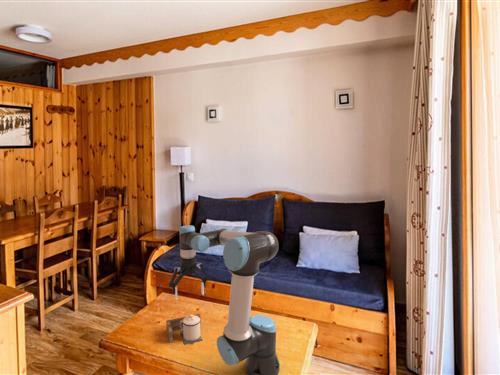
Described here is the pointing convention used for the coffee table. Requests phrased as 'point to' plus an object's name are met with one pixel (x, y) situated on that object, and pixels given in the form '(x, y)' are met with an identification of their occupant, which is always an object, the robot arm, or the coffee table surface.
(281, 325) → the coffee table surface
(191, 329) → the teacup with lid
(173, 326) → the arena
